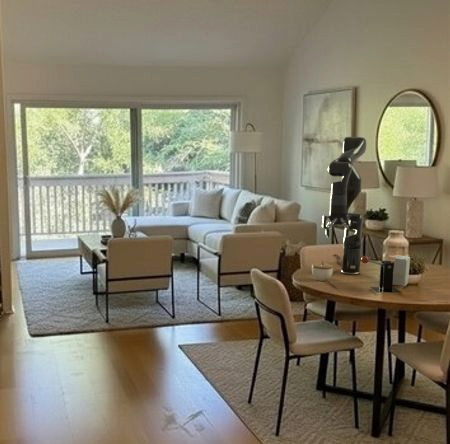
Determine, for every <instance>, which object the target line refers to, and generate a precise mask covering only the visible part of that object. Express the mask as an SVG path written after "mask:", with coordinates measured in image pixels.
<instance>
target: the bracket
mask: <svg viewBox="0 0 450 444" xmlns="http://www.w3.org/2000/svg"><path fill="white" fill-rule="evenodd" d="M384 262H386V263H384ZM380 263H383V264H384V267H383V266H382V265H379V266H380V267H379V269H380V270H379V284H378V285H379V286H369V288H370V289H371V290H372V291H374V292H375V293H391V294H392V293H401V294H402V293H403V292H402V291H400V290H399V289H397V287H394V285H393V273H394V263H395V262H392V261H391V260H380Z"/></svg>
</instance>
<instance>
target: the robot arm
mask: <svg viewBox="0 0 450 444" xmlns="http://www.w3.org/2000/svg"><path fill="white" fill-rule="evenodd" d="M366 151H367V139H366V138H365V137H362V136H345V137H344V139H343V142H342V153H341V154H340V156H339V157H337V158H336V159H334V160H332V161H331V162H330V163H329V165H328V167H327V173H328V174H329V175H330V176H331V177H337V178H339V177H341V179H340V180H338V181H333V182H332V183H331V190H330V198H329V214H328V215H322V220H321V228H322V229H325V230H324V231H325V233H324V234H325V236H326V238H330V229H331V227H333V226H337V225H339V226H341V228H342V230H344V233H343V234H344V235H343V238H342V240H343V241H342V259H341V257H340V256H339V255H338V254H337V253H335V254H333V257H337V263H338V264H339V265H341V273H342V274H343V275H349V276H350V275H351V276H356V275H357V276H358V275H360V274H361V273H360V269H361V255H362V254H361V250H362V232H363V223H364V216H363V214H362V213H357V212H349V210H350V208H351V206H352V204H353V203H354V202H355V200H357V198H358V197H359V195H360V194H361V191H362V177H361V175H360V173H359V171H358V170H357V168H356V167H355V165H354V162H355V161H356V160H358V159H360V157H362V156H363V155H364V154H365V152H366ZM328 219H329V221H328ZM327 221H328V223H327ZM349 231H355V232H354V233H351V234H349ZM340 259H341V261H342V262H340Z"/></svg>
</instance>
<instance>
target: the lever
mask: <svg viewBox="0 0 450 444" xmlns="http://www.w3.org/2000/svg"><path fill="white" fill-rule="evenodd" d="M360 262H361V263H362V264H368V263H372V264H374V265H378V266H381V265H382V266H383V267H384V264H383V263H381V261H376V260H372V259H370V258H369V257H368V256H367V255H363V256H362V257H360ZM384 263H386V262H384Z"/></svg>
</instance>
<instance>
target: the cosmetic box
mask: <svg viewBox="0 0 450 444" xmlns="http://www.w3.org/2000/svg"><path fill="white" fill-rule="evenodd" d="M393 263H394V271H393V286H400V287H405V286H407V285H408V284H409V276H410V275H409V274H410V266H411V265H410V263H411V256H406V255H400V254H399V255H397V256H396V257H395V258H394V262H393Z"/></svg>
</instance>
